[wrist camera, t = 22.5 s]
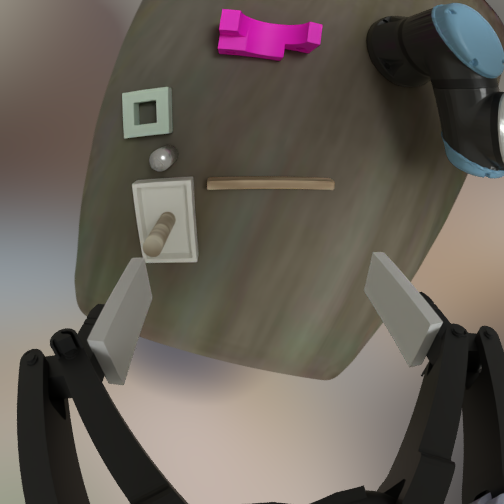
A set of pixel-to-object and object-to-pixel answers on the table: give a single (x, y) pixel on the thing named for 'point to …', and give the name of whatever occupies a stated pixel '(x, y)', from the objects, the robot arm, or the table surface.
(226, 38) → the toy block
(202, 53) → the table surface
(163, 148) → the cylinder
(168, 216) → the dowel
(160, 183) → the tray
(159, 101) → the socket
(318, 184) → the brown wooden bar
